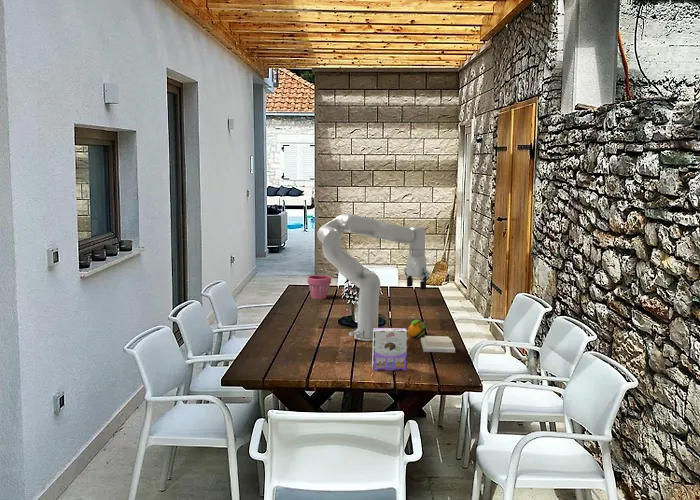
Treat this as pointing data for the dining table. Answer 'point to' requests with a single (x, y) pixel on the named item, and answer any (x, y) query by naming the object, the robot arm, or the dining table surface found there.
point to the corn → (416, 328)
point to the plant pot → (319, 286)
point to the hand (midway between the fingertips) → (416, 287)
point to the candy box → (389, 349)
